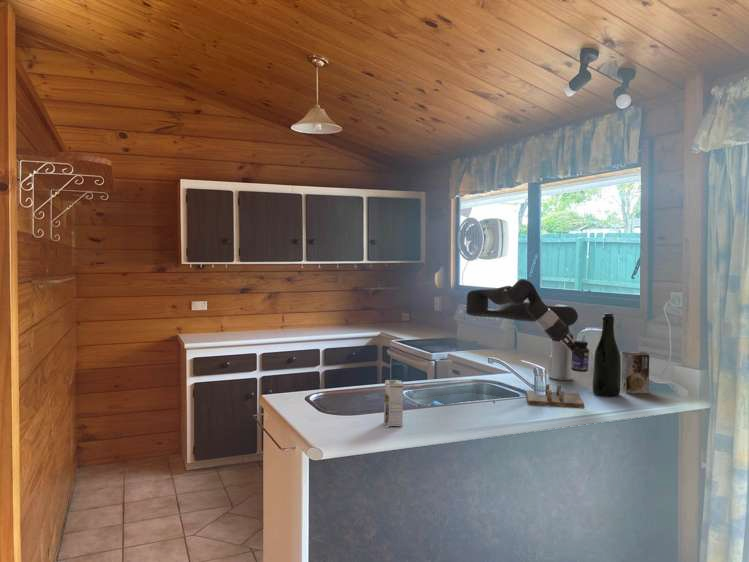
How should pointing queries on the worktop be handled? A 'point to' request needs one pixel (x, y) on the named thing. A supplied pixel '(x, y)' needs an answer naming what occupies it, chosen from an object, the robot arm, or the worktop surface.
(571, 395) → the pin tray
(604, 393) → the dark green wine bottle
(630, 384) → the coffee box
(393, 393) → the syrup box
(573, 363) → the pill bottle
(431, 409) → the worktop surface
